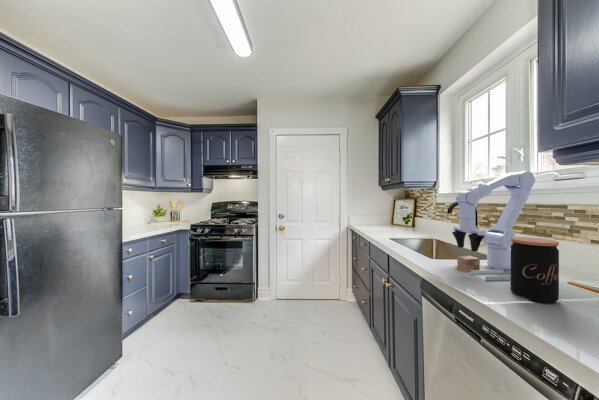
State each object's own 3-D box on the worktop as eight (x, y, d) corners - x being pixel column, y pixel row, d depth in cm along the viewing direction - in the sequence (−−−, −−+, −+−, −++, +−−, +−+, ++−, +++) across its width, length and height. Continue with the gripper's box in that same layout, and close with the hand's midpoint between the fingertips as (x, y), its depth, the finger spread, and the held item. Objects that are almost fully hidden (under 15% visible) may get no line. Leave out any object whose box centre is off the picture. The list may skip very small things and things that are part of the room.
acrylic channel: (502, 274, 94) (502, 269, 94) (520, 281, 87) (520, 275, 87) (470, 275, 93) (470, 270, 93) (485, 282, 86) (485, 276, 86)
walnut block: (470, 266, 104) (470, 255, 104) (479, 269, 99) (479, 258, 99) (457, 266, 103) (457, 256, 103) (466, 269, 98) (466, 259, 98)
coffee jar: (520, 301, 70) (520, 241, 70) (504, 288, 80) (504, 236, 80) (568, 307, 66) (568, 244, 66) (545, 293, 76) (545, 238, 76)
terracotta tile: (471, 267, 105) (471, 265, 105) (484, 272, 98) (484, 270, 98) (454, 267, 104) (454, 265, 104) (466, 272, 97) (466, 270, 97)
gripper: (447, 217, 110) (447, 246, 110) (472, 220, 95) (472, 253, 95) (461, 216, 110) (461, 245, 110) (488, 219, 96) (488, 252, 96)
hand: (467, 249), depth 103 cm, fingers open, 7 cm apart
